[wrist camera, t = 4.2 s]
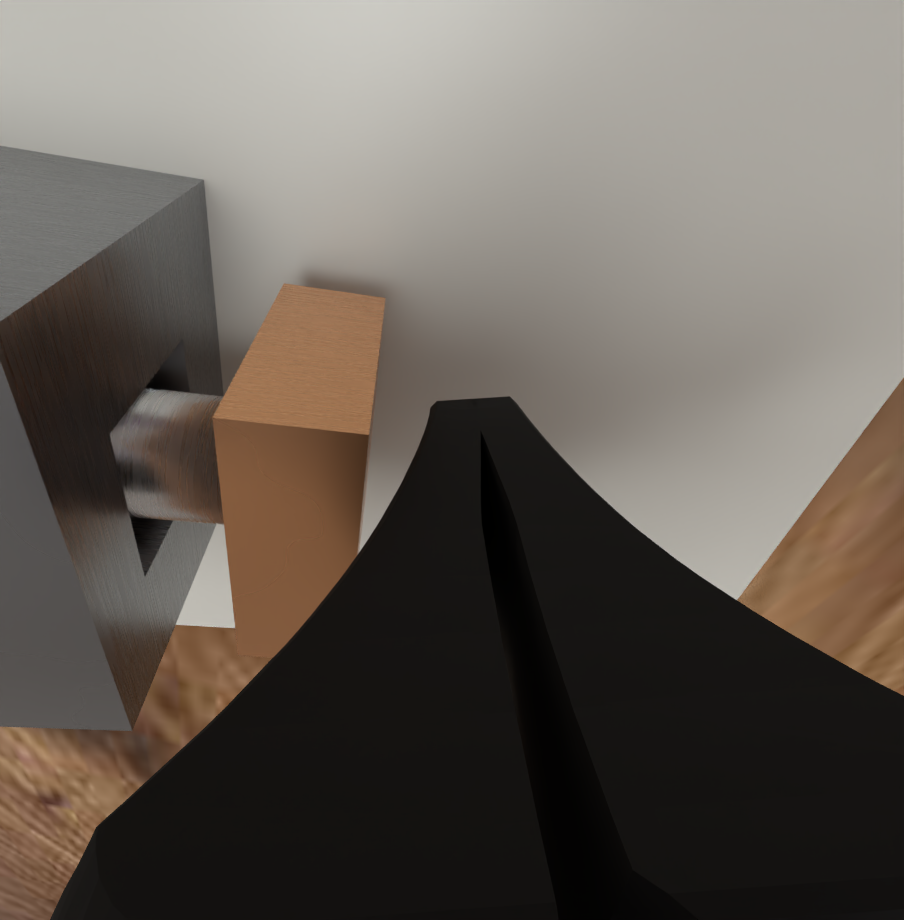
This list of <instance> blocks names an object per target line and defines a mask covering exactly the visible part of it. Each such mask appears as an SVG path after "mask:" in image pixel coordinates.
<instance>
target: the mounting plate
mask: <svg viewBox="0 0 904 920" xmlns="http://www.w3.org/2000/svg"><path fill="white" fill-rule="evenodd" d="M0 146H6V147H12V148H18V149H24V150H30V151H36V152H41V153H47V154H53V155H59V156H65V157H71V158H77V159H83V160H89V161H95V162H101V163H107V164H113V165H119V166H125V167H131V168H137V169H143V170H149V171H155V172H161V173H167V174H173V175H179V176H185V177H191V178H197V179H203V180H204V186H205V197H206V208H207V219H208V230H209V241H210V252H211V263H212V274H213V285H214V296H215V307H216V318H217V329H218V340H219V351H220V362H221V373H222V384H223V395H225V393H226V391H227V389H228V387H229V386H230V384H231V382H232V380H233V378H234V376H235V374H236V372H237V370H238V369H239V367H240V365H241V363H242V361H243V359H244V357H245V355H246V354H247V352H248V350H249V348H250V346H251V344H252V342H253V340H254V338H255V337H256V335H257V333H258V331H259V329H260V327H261V325H262V323H263V321H264V320H265V318H266V316H267V314H268V312H269V310H270V308H271V306H272V305H273V303H274V301H275V299H276V297H277V295H278V293H279V291H280V289H281V288H282V286H283V284H284V283H285V284H292V285H299V286H306V287H313V288H320V289H327V290H334V291H341V292H348V293H355V294H361V295H368V296H375V297H382V298H386V299H385V309H384V318H383V328H382V338H381V348H380V358H379V368H378V378H377V388H376V398H375V408H374V418H373V428H372V438H371V447H370V457H369V467H368V477H367V487H366V497H365V506H364V515H363V524H362V532H361V541H360V550H359V552H360V551H361V549H362V548H363V546H364V545H365V543H366V542H367V540H368V539H369V537H370V536H371V534H372V532H373V531H374V529H375V528H376V526H377V525H378V523H379V521H380V520H381V518H382V516H383V514H384V513H385V511H386V509H387V507H388V506H389V504H390V502H391V500H392V499H393V497H394V495H395V494H396V492H397V490H398V488H399V486H400V485H401V483H402V481H403V479H404V477H405V474H406V472H407V470H408V468H409V466H410V464H411V462H412V460H413V458H414V455H415V453H416V451H417V449H418V446H419V444H420V441H421V439H422V436H423V434H424V431H425V428H426V425H427V421H428V418H429V413H430V407H431V406H432V405H433V404H434V403H435V402H436V401H444V400H460V399H475V398H491V397H507V396H510V397H511V398H512V399H513V400H514V401H515V402H516V403H517V404H518V405H519V407H520V408H521V409H522V411H523V412H524V413H525V415H526V416H527V417H528V418H529V420H530V421H531V422H532V423H533V425H534V426H535V427H536V428H537V429H538V431H539V432H540V433H541V434H542V435H543V436H544V438H545V439H546V440H547V441H548V442H549V443H550V445H551V446H552V447H553V448H554V449H555V450H556V451H557V452H558V454H559V455H560V456H561V457H562V458H563V459H564V460H565V461H566V462H567V463H568V464H569V465H570V466H571V467H572V468H573V469H574V470H575V471H576V473H577V474H578V475H579V476H580V477H581V478H582V479H583V480H584V481H585V482H586V483H587V484H588V485H589V486H590V487H591V488H592V489H593V490H594V491H596V492H597V493H598V494H599V495H600V496H601V497H602V498H603V499H604V500H605V501H606V502H607V503H608V504H610V505H611V506H612V507H613V508H614V509H615V510H616V511H617V512H618V513H619V514H621V515H622V516H623V517H624V518H625V519H626V520H627V521H629V522H630V523H631V524H632V525H633V526H634V527H636V528H637V529H638V530H639V531H640V532H642V533H643V534H644V535H646V536H647V537H648V538H650V539H651V540H652V541H653V542H655V543H656V544H657V545H659V546H660V547H661V548H662V549H664V550H665V551H666V552H668V553H669V554H670V555H671V556H673V557H674V558H675V559H677V560H678V561H680V562H681V563H682V564H684V565H685V566H687V567H688V568H689V569H691V570H692V571H694V572H695V573H696V574H698V575H699V576H701V577H702V578H704V579H705V580H707V581H708V582H710V583H711V584H713V585H714V586H716V587H717V588H719V589H720V590H722V591H723V592H725V593H727V594H728V595H730V596H731V597H733V598H734V599H736V600H737V599H738V598H739V597H740V595H741V594H742V593H743V591H744V590H745V589H746V587H747V586H748V585H749V583H750V582H751V581H752V579H753V578H754V577H755V575H756V574H757V573H758V571H759V570H760V569H761V567H762V566H763V565H764V563H765V562H766V561H767V559H768V558H769V557H770V555H771V554H772V553H773V551H774V550H775V549H776V547H777V546H778V545H779V543H780V542H781V540H782V539H783V538H784V536H785V535H786V534H787V532H788V531H789V530H790V528H791V527H792V526H793V524H794V523H795V522H796V520H797V519H798V518H799V516H800V515H801V514H802V512H803V511H804V510H805V508H806V507H807V506H808V504H809V503H810V502H811V500H812V499H813V498H814V496H815V495H816V494H817V492H818V491H819V490H820V488H821V487H822V486H823V484H824V483H825V482H826V480H827V479H828V478H829V476H830V475H831V474H832V472H833V471H834V470H835V468H836V467H837V466H838V464H839V463H840V462H841V460H842V459H843V458H844V456H845V455H846V454H847V452H848V451H849V450H850V448H851V447H852V446H853V444H854V443H855V442H856V440H857V439H858V438H859V436H860V435H861V434H862V432H863V431H864V430H865V428H866V427H867V426H868V424H869V423H870V422H871V420H872V419H873V418H874V416H875V415H876V414H877V412H878V411H879V410H880V408H881V407H882V406H883V404H884V403H885V402H886V400H887V399H888V398H889V396H890V395H891V394H892V392H893V391H894V390H895V388H896V387H897V386H898V384H899V383H900V382H901V380H902V379H903V378H904V0H0ZM176 625H192V626H209V627H226V628H235V622H234V613H233V603H232V594H231V585H230V576H229V566H228V557H227V548H226V539H225V529H224V525H222V524H216V527H215V529H214V532H213V534H212V537H211V539H210V541H209V544H208V546H207V549H206V551H205V554H204V556H203V559H202V561H201V563H200V566H199V568H198V571H197V573H196V576H195V578H194V581H193V583H192V586H191V588H190V590H189V593H188V595H187V598H186V600H185V603H184V605H183V608H182V610H181V612H180V615H179V617H178V620H177V622H176Z"/></svg>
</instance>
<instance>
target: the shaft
mask: <svg viewBox="0 0 904 920" xmlns="http://www.w3.org/2000/svg"><path fill="white" fill-rule="evenodd" d="M385 299H386V298H382V297H375V296H368V295H361V294H355V293H348V292H341V291H334V290H327V289H320V288H313V287H306V286H299V285H292V284H285V283H284V284H283V286H282V288H281V289H280V291H279V293H278V295H277V297H276V299H275V301H274V303H273V305H272V306H271V308H270V310H269V312H268V314H267V316H266V318H265V320H264V321H263V323H262V325H261V327H260V329H259V331H258V333H257V335H256V337H255V338H254V340H253V342H252V344H251V346H250V348H249V350H248V352H247V354H246V355H245V357H244V359H243V361H242V363H241V365H240V367H239V369H238V370H237V372H236V374H235V376H234V378H233V380H232V382H231V384H230V386H229V387H228V389H227V391H226V393H225V395H224V397H222V396H213V395H205V394H196V393H187V392H179V391H170V390H161V389H152V388H144V390H143V391H142V392H141V394H140V395H139V396H138V397H137V399H136V400H135V401H134V403H133V404H132V405H131V407H130V408H129V409H128V411H127V412H126V413H125V414H124V416H123V417H122V418H121V420H120V421H119V422H118V424H117V425H116V426H115V428H114V429H113V430H112V431H111V433H110V438H111V443H112V447H113V451H114V455H115V459H116V463H117V467H118V471H119V475H120V479H121V483H122V487H123V491H124V495H125V499H126V503H127V507H128V511H129V515H130V517H138V518H150V519H162V520H174V521H186V522H198V523H210V524H222V525H224V529H225V539H226V548H227V557H228V566H229V576H230V585H231V594H232V603H233V613H234V622H235V631H236V640H237V650H238V656H251V657H270V658H273V657H274V656H275V655H276V654H277V653H278V652H279V651H280V650H281V649H282V648H283V647H284V646H285V645H286V644H287V642H288V641H289V640H290V639H291V638H292V637H293V636H294V634H295V633H296V632H297V631H298V630H299V629H300V628H301V626H302V625H303V624H304V623H305V622H306V621H307V619H308V618H309V617H310V616H311V615H312V613H313V612H314V611H315V610H316V608H317V607H318V606H319V605H320V603H321V602H322V601H323V600H324V598H325V597H326V596H327V595H328V593H329V592H330V591H331V590H332V588H333V587H334V586H335V585H336V583H337V582H338V581H339V580H340V578H341V577H342V576H343V574H344V573H345V572H346V570H347V569H348V567H349V566H350V565H351V563H352V562H353V560H354V559H355V558H356V556H357V555H358V553H359V550H360V541H361V532H362V524H363V515H364V506H365V497H366V487H367V477H368V467H369V457H370V447H371V438H372V428H373V418H374V408H375V398H376V388H377V378H378V368H379V358H380V348H381V338H382V328H383V318H384V309H385Z"/></svg>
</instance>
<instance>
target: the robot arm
mask: <svg viewBox="0 0 904 920" xmlns="http://www.w3.org/2000/svg"><path fill="white" fill-rule="evenodd" d="M50 920H904V696H903V695H901V694H899V693H897V692H895V691H893V690H891V689H889V688H887V687H885V686H883V685H881V684H879V683H877V682H875V681H873V680H872V679H870V678H868V677H866V676H864V675H862V674H861V673H859V672H857V671H855V670H853V669H852V668H850V667H848V666H846V665H845V664H843V663H841V662H839V661H837V660H836V659H834V658H832V657H830V656H829V655H827V654H825V653H823V652H822V651H820V650H818V649H816V648H815V647H813V646H811V645H809V644H808V643H806V642H804V641H802V640H800V639H799V638H797V637H795V636H793V635H792V634H790V633H788V632H787V631H785V630H784V629H782V628H780V627H779V626H777V625H775V624H774V623H772V622H770V621H769V620H767V619H765V618H764V617H762V616H760V615H759V614H757V613H756V612H754V611H752V610H751V609H749V608H748V607H746V606H745V605H743V604H742V603H740V602H739V601H737V600H736V599H734V598H733V597H731V596H730V595H728V594H727V593H725V592H723V591H722V590H720V589H719V588H717V587H716V586H714V585H713V584H711V583H710V582H708V581H707V580H705V579H704V578H702V577H701V576H699V575H698V574H696V573H695V572H694V571H692V570H691V569H689V568H688V567H687V566H685V565H684V564H682V563H681V562H680V561H678V560H677V559H675V558H674V557H673V556H671V555H670V554H669V553H668V552H666V551H665V550H664V549H662V548H661V547H660V546H659V545H657V544H656V543H655V542H653V541H652V540H651V539H650V538H648V537H647V536H646V535H644V534H643V533H642V532H640V531H639V530H638V529H637V528H636V527H634V526H633V525H632V524H631V523H630V522H629V521H627V520H626V519H625V518H624V517H623V516H622V515H621V514H619V513H618V512H617V511H616V510H615V509H614V508H613V507H612V506H611V505H610V504H608V503H607V502H606V501H605V500H604V499H603V498H602V497H601V496H600V495H599V494H598V493H597V492H596V491H594V490H593V489H592V488H591V487H590V486H589V485H588V484H587V483H586V482H585V481H584V480H583V479H582V478H581V477H580V476H579V475H578V474H577V473H576V471H575V470H574V469H573V468H572V467H571V466H570V465H569V464H568V463H567V462H566V461H565V460H564V459H563V458H562V457H561V456H560V455H559V454H558V452H557V451H556V450H555V449H554V448H553V447H552V446H551V445H550V443H549V442H548V441H547V440H546V439H545V438H544V436H543V435H542V434H541V433H540V432H539V431H538V429H537V428H536V427H535V426H534V425H533V423H532V422H531V421H530V420H529V418H528V417H527V416H526V415H525V413H524V412H523V411H522V409H521V408H520V407H519V405H518V404H517V403H516V402H515V401H514V400H513V399H512V398H511V397H510V396H507V397H491V398H475V399H460V400H444V401H436V402H435V403H434V404H433V405H432V406H431V407H430V413H429V418H428V421H427V425H426V428H425V431H424V434H423V436H422V439H421V441H420V444H419V446H418V449H417V451H416V453H415V455H414V458H413V460H412V462H411V464H410V466H409V468H408V470H407V472H406V474H405V477H404V479H403V481H402V483H401V485H400V486H399V488H398V490H397V492H396V494H395V495H394V497H393V499H392V500H391V502H390V504H389V506H388V507H387V509H386V511H385V513H384V514H383V516H382V518H381V520H380V521H379V523H378V525H377V526H376V528H375V529H374V531H373V532H372V534H371V536H370V537H369V539H368V540H367V542H366V543H365V545H364V546H363V548H362V549H361V551H360V552H359V553H358V555H357V556H356V558H355V559H354V560H353V562H352V563H351V565H350V566H349V567H348V569H347V570H346V572H345V573H344V574H343V576H342V577H341V578H340V580H339V581H338V582H337V583H336V585H335V586H334V587H333V588H332V590H331V591H330V592H329V593H328V595H327V596H326V597H325V598H324V600H323V601H322V602H321V603H320V605H319V606H318V607H317V608H316V610H315V611H314V612H313V613H312V615H311V616H310V617H309V618H308V619H307V621H306V622H305V623H304V624H303V625H302V626H301V628H300V629H299V630H298V631H297V632H296V633H295V634H294V636H293V637H292V638H291V639H290V640H289V641H288V642H287V644H286V645H285V646H284V647H283V648H282V649H281V650H280V651H279V652H278V653H277V654H276V655H275V656H274V657H273V658H272V659H271V660H270V661H269V662H268V664H267V665H266V666H265V667H264V668H263V669H262V670H261V671H260V672H259V673H258V674H257V675H256V676H255V677H254V678H253V679H252V680H251V681H250V682H249V684H248V685H247V686H246V687H245V688H244V689H243V690H242V691H241V692H240V693H239V694H238V695H237V696H236V697H235V698H234V699H233V700H232V701H231V703H230V704H229V705H228V706H227V707H226V708H225V709H224V710H223V711H222V712H220V713H219V714H218V715H217V716H216V717H215V718H214V719H213V720H212V721H211V722H210V723H209V724H208V725H207V726H206V727H205V728H204V729H203V730H202V731H201V732H200V733H199V734H198V735H196V736H195V737H194V738H193V739H192V740H191V741H190V742H189V743H188V744H187V745H186V746H185V747H183V748H182V749H181V750H180V751H179V752H178V753H177V754H176V755H175V756H174V757H173V758H172V759H170V760H169V761H168V762H167V763H166V764H165V765H164V766H163V767H162V768H161V769H160V770H158V771H157V772H156V773H155V774H154V775H153V776H152V777H151V778H150V779H149V780H148V781H147V782H145V783H144V784H143V785H142V786H141V787H140V788H139V789H138V790H137V791H136V792H135V793H134V794H132V795H131V796H130V797H129V798H128V799H127V800H126V801H125V802H124V803H123V804H122V805H120V806H119V807H118V808H117V809H116V810H115V811H114V812H112V813H111V814H110V815H109V816H108V817H107V818H106V819H105V820H104V821H103V822H101V823H100V824H99V825H98V826H97V827H96V829H95V831H94V833H93V835H92V838H91V840H90V842H89V844H88V846H87V848H86V850H85V852H84V854H83V856H82V858H81V860H80V862H79V864H78V866H77V868H76V869H75V871H74V873H73V875H72V877H71V879H70V880H69V882H68V884H67V886H66V888H65V889H64V891H63V893H62V895H61V898H60V900H59V902H58V904H57V906H56V908H55V910H54V912H53V915H52V917H51V919H50Z"/></svg>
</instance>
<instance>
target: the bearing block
mask: <svg viewBox="0 0 904 920" xmlns="http://www.w3.org/2000/svg"><path fill="white" fill-rule="evenodd" d="M144 388H152V389H161V390H170V391H179V392H187V393H196V394H205V395H213V396H222V397H224V395H223V384H222V373H221V362H220V351H219V340H218V329H217V318H216V307H215V296H214V285H213V274H212V263H211V252H210V241H209V230H208V219H207V208H206V197H205V186H204V180H203V179H197V178H191V177H185V176H179V175H173V174H167V173H161V172H155V171H149V170H143V169H137V168H131V167H125V166H119V165H113V164H107V163H101V162H95V161H89V160H83V159H77V158H71V157H65V156H59V155H53V154H47V153H41V152H36V151H30V150H24V149H18V148H12V147H6V146H0V726H3V727H33V728H63V729H93V730H124V731H132V730H133V728H134V725H135V723H136V720H137V718H138V715H139V713H140V710H141V708H142V706H143V703H144V701H145V698H146V696H147V693H148V691H149V688H150V686H151V684H152V681H153V679H154V676H155V674H156V671H157V669H158V666H159V664H160V661H161V659H162V657H163V654H164V652H165V649H166V647H167V644H168V642H169V639H170V637H171V635H172V632H173V630H174V627H175V625H176V622H177V620H178V617H179V615H180V612H181V610H182V608H183V605H184V603H185V600H186V598H187V595H188V593H189V590H190V588H191V586H192V583H193V581H194V578H195V576H196V573H197V571H198V568H199V566H200V563H201V561H202V559H203V556H204V554H205V551H206V549H207V546H208V544H209V541H210V539H211V537H212V534H213V532H214V529H215V527H216V524H210V523H198V522H186V521H174V520H162V519H150V518H138V517H130V515H129V511H128V507H127V503H126V499H125V495H124V491H123V487H122V483H121V479H120V475H119V471H118V467H117V463H116V459H115V455H114V451H113V447H112V443H111V438H110V433H111V431H112V430H113V429H114V428H115V426H116V425H117V424H118V422H119V421H120V420H121V418H122V417H123V416H124V414H125V413H126V412H127V411H128V409H129V408H130V407H131V405H132V404H133V403H134V401H135V400H136V399H137V397H138V396H139V395H140V394H141V392H142V391H143V390H144Z"/></svg>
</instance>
